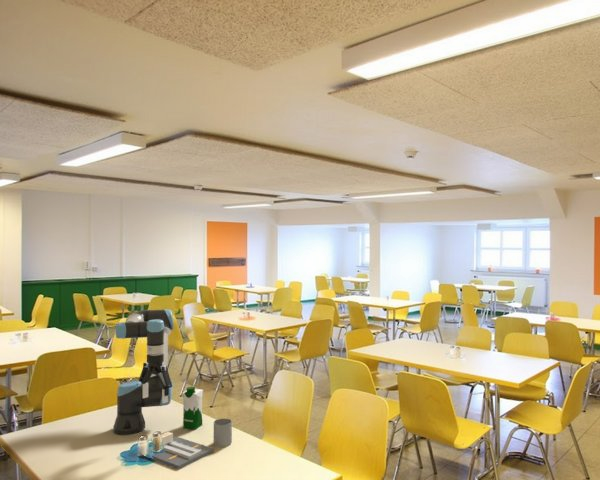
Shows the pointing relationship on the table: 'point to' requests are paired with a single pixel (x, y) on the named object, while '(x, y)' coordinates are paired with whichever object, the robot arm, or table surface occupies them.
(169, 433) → the fader
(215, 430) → the cup
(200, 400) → the milk carton
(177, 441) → the console
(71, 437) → the table surface
